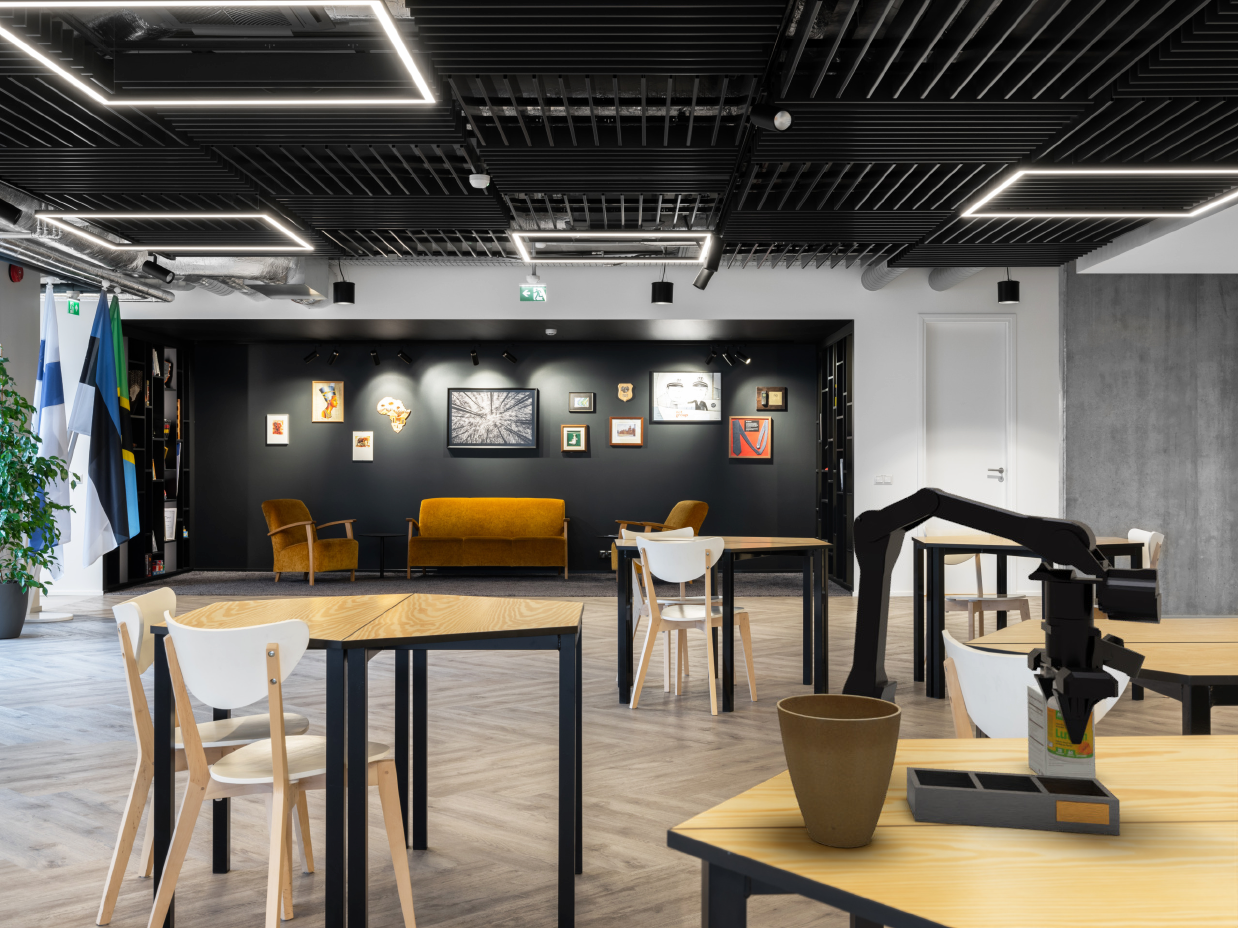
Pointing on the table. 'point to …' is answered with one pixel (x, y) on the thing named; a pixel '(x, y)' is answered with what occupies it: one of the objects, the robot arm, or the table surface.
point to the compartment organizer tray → (1012, 800)
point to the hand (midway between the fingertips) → (1069, 737)
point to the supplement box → (1038, 742)
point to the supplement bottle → (1066, 737)
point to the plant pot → (839, 762)
